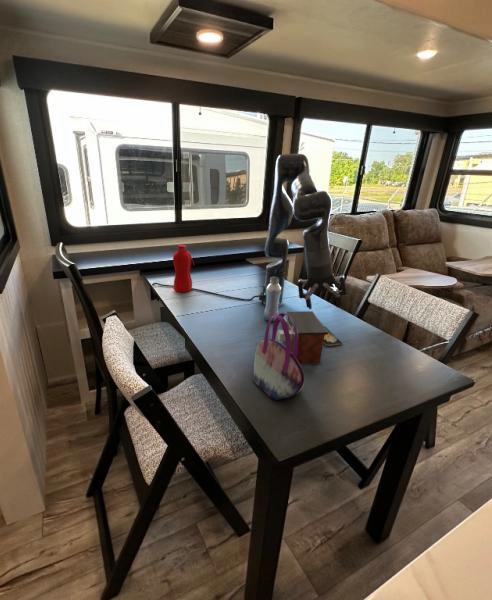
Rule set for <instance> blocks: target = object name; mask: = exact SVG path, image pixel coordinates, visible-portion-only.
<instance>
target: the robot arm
mask: <svg viewBox="0 0 492 600" xmlns="http://www.w3.org/2000/svg"><path fill="white" fill-rule="evenodd" d="M273 181H274V182H273V193H272V198H271V199H272V200H271V205H270V212H269V220H268V222H269V223H268V229H267V235H266V238H265V244H264V255H265V257H266V258H269V259H278V260H276V261H274V262H270V263H269V264H266V267H265V279H264V285H263V286H262V291H261V292H260V294H258V295H253V296H252V297H251V298H241V297H237V296H236V297H235V296H230V295H225V294H222V293H217V292H212V291H208V290H204V289H199V288H194V287H192V288H191V290H192V291H197V292H202V293H207V294H210V295H214V296H220V297H224V298H227V299H234V300H240V301H249V302H250V301H253V300H254V299H255V298H258V300H259V301H261V304H263V305H264V306H266V301H267V300H266V299H267V295H266V288H267V286H268V285H269V284H270V283H271V282H270V278H271V277H278V278H279V283H278V284H279V285H280V287H281V294H280V298H279V303H278V308H280V307H282V305H283V299H284V298H283V297H284V288H285V279H286V270H287V269H286V268H287V260H288V254H289V248H290V247H289V246H290V245H289V244H290V243H289V240H288V239H287V238H282V237H281V238H278V236H279V235H280V234H281V233H282V232H283V231H285V230H286V229H287V228H289V226H290V225H291V223H292V219H293V217H294V218H295V219H296V220H297V221H299V222H308V221H312V220H316V223H314V224H313V225H311V226H308V227H306V228H305V229H304V230H303V231H302V239H303V246H304V247H303V248H304V264H305V268H306V275H307V279H303V278H298V281H297V288H298V298H299V299H304V300H305V305H306V308H308V309H309V310H312V305H313V304H312V298H311V296H313V294H314V293H321V292H323V293H324V292H326V293H327V292H328V291H329V292H330V293H331V294H333V295H334V296H335V303H336V304H335V305H336V308H340V306H341V305H342V300H341V299H342V298H341V297H342V296H346V295H347V287H346V281H345V275H344V274H342V273H341V274H339V276H334V273H333V272H334V271H333V261H332V252H331V248H330V241H329V222H330V217H331V214H332V213H331V212H332V207H333V201H332V197H331V195H330V193H328V192H327V191H325V190H321V191H319V190H318V188H317V185H316V184H315V182H314V180H313V178H312V173H311V167H310V163H309V159H308V157H307V156H306V155H305V154H304V153H282V154H279V155H278V156H277V158H276V161H275V168H274V180H273ZM284 183H291V186H290V187H291V188H290V189H291V195H292V197H293V201H292V199H291V198H290V196H289V195H288V194H287V193H288V192H287V191H286V189H285V186H284ZM335 282H337V284H339V285H340V288H341V289H340V290H339V289H338V288H337V287H336V286H335ZM151 285H152V286H154V285H158V286H161V287H170V288H174V284H173V285H172V284H163V283H159V282H153V283H152V284H151ZM306 285H307V286H309V288H308V290H307V292H304V287H305V286H306ZM191 290H190V291H191Z"/></svg>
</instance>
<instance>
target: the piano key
mask: <svg viewBox="0 0 492 600" xmlns="http://www.w3.org/2000/svg"><path fill="white" fill-rule="evenodd" d="M289 334H290V339H291V341H292V338H293V332H292V331H291V330H289ZM277 338H278V342H285V341H286V338H285V335H284V332H283V329H277Z"/></svg>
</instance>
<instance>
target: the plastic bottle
mask: <svg viewBox="0 0 492 600" xmlns="http://www.w3.org/2000/svg"><path fill="white" fill-rule="evenodd" d="M270 282H271V283H270V284H269V285H268V286H267V288H266V295H267V299H266V300H267V301H266V305H265V308H264V311H263V317H264V319H265V320H266V321H267V322H268V321H269V319H270V318H271V317H272V316H273V315H279V314H280V311H279V307H278V303H279V298H280V294H281V287H280V285H279V284H278V283H279V278H278V277H271V278H270ZM275 320H276V317H274V318H273V319H272V320H271V322H275Z"/></svg>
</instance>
